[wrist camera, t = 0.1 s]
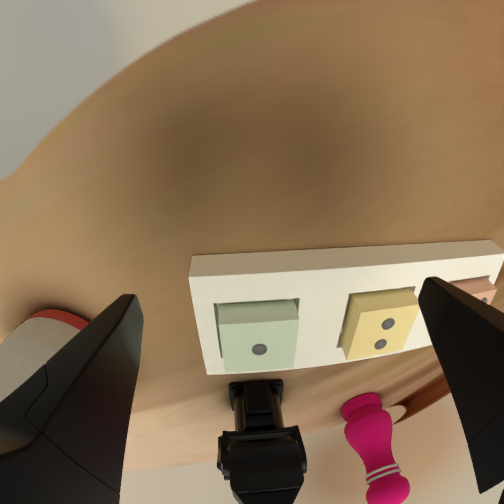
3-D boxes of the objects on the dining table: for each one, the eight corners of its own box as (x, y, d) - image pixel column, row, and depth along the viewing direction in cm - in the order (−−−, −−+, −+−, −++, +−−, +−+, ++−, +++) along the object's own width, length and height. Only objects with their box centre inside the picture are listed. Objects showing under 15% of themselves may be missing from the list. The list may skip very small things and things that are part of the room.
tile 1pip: (289, 348, 27) (293, 369, 25) (224, 352, 27) (225, 374, 25) (293, 299, 24) (299, 321, 22) (218, 304, 24) (218, 326, 22)
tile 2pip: (393, 334, 28) (402, 351, 26) (340, 342, 27) (347, 362, 25) (410, 287, 25) (422, 305, 23) (351, 294, 24) (361, 314, 22)
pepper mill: (390, 393, 40) (430, 502, 23) (358, 416, 43) (388, 519, 25) (362, 387, 37) (402, 512, 20) (328, 412, 40) (356, 529, 23)
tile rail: (458, 319, 32) (469, 334, 30) (208, 352, 31) (207, 374, 28) (490, 239, 26) (506, 253, 24) (192, 255, 24) (188, 277, 22)
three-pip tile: (466, 318, 28) (477, 332, 26) (430, 326, 28) (440, 342, 26) (485, 276, 25) (498, 290, 23) (449, 282, 25) (462, 297, 23)
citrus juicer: (-7, 278, 24) (-91, 417, 7) (127, 303, 27) (73, 513, 10) (31, 366, 32) (-11, 483, 15) (141, 392, 34) (123, 534, 17)
